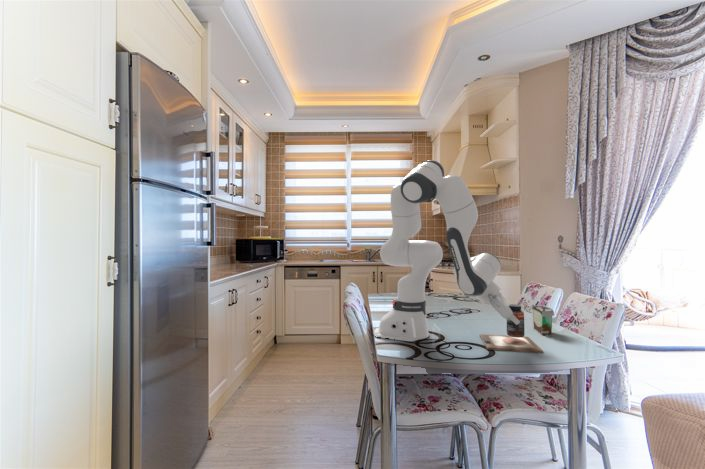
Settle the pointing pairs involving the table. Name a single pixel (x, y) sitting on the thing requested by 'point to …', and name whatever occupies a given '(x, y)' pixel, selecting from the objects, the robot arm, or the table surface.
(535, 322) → the food container
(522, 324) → the supplement bottle
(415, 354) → the table surface
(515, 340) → the clipboard
